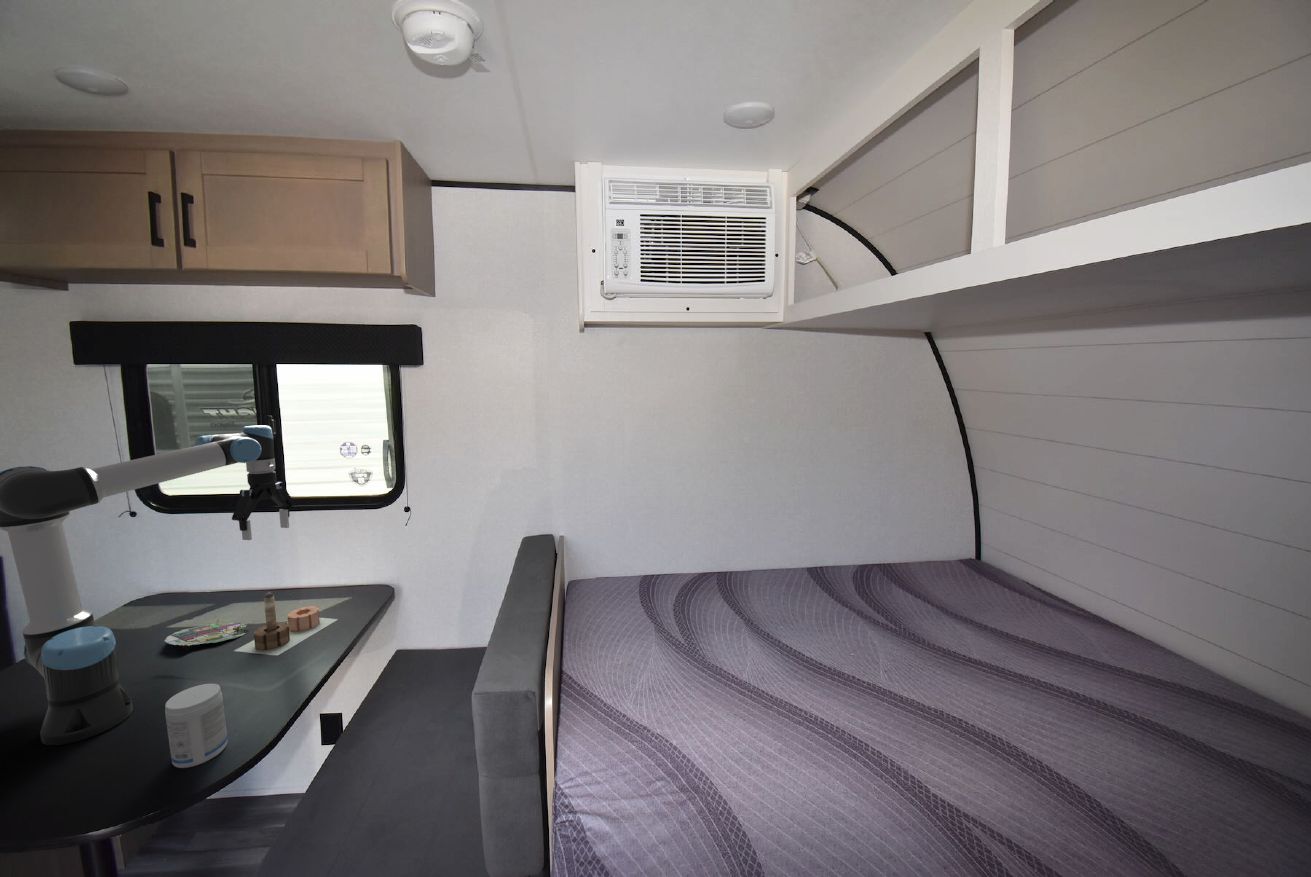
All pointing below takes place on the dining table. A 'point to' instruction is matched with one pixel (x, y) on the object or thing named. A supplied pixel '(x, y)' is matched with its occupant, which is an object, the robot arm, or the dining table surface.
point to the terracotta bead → (303, 618)
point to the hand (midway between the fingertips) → (266, 533)
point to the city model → (206, 634)
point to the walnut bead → (271, 637)
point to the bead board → (294, 639)
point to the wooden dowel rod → (270, 612)
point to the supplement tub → (196, 725)
